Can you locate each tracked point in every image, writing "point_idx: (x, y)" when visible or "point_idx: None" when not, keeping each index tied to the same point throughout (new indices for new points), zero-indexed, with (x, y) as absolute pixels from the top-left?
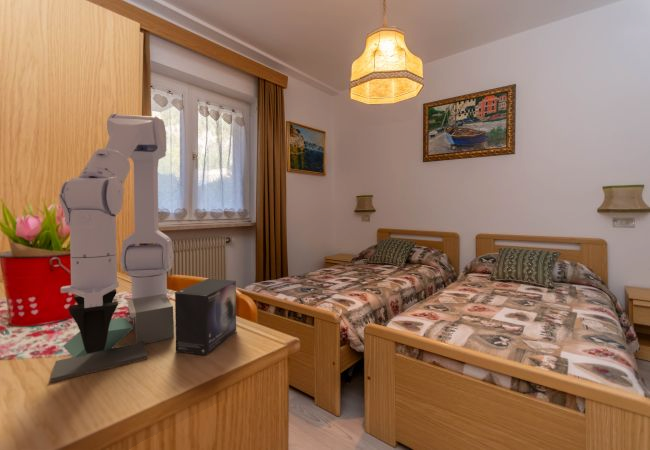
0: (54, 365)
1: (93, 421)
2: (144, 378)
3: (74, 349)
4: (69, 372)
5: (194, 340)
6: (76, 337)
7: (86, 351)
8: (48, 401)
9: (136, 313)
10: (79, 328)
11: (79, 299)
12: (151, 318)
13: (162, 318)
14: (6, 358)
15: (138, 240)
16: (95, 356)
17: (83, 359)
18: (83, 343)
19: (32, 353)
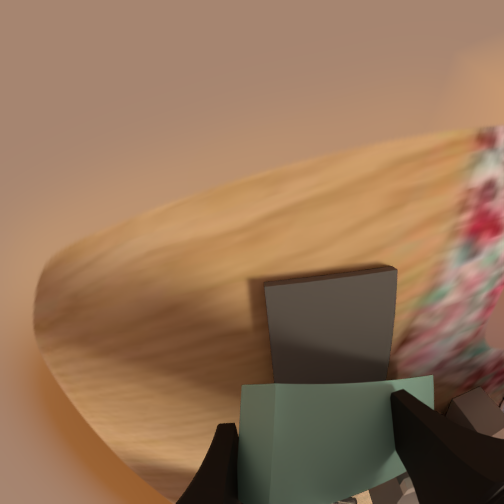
0: (363, 274)
1: (68, 372)
2: (184, 444)
3: (251, 404)
4: (281, 329)
5: None
6: (266, 441)
7: (216, 429)
8: (153, 299)
9: (401, 493)
10: (179, 500)
11: (484, 489)
12: (387, 491)
13: (379, 497)
14: (483, 128)
15: None
16: (356, 369)
17: (356, 345)
18: (209, 449)
19: (488, 184)
